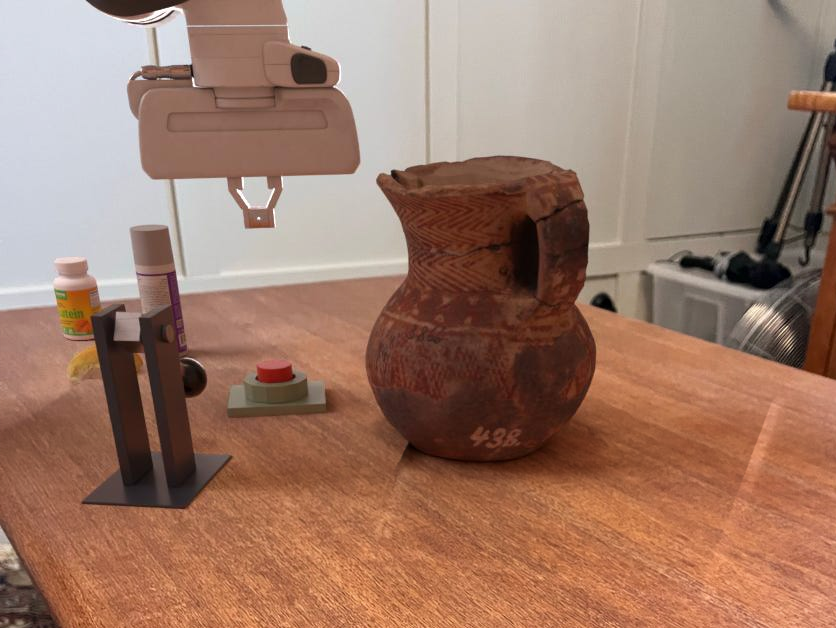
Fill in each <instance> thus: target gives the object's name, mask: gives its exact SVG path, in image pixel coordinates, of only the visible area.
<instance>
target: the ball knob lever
mask: <svg viewBox="0 0 836 628" xmlns="http://www.w3.org/2000/svg"><path fill="white" fill-rule="evenodd" d="M142 315H144V314H143V311H126V312H116V319H115V330H114V341H115V342H116V343H117V344H119V345H120V346H121V347H122V348H124V349H125V350H126V351H127V352H128V353H137V354H145V353H144V347H143V341H142V336H141V330H140V324H139V317H140V316H142ZM179 359H180V366H181V372H182V379H183V385H184V392H185V398H186V399H193V398H196V397H198V396H200V395H201V394H202V393H203V392H204V391H205V390H206V387H207V385H208V374H207V371H206V369H205V367H204V366H203V365H202V364H201V363H200V362H199V361H197V360H195V359H194V358H190V357H180V358H179Z"/></svg>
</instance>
